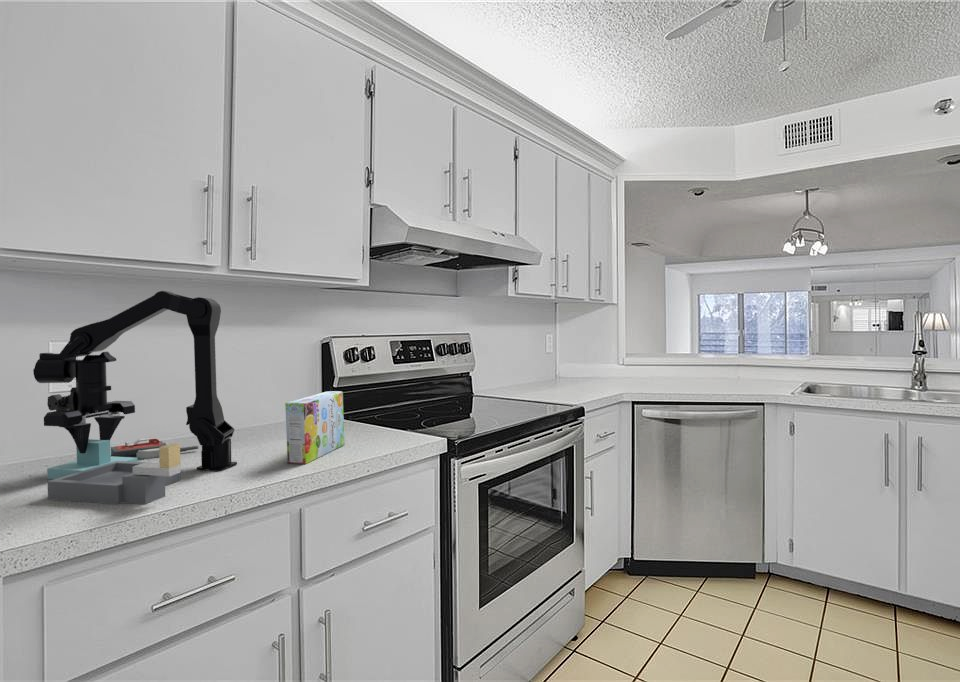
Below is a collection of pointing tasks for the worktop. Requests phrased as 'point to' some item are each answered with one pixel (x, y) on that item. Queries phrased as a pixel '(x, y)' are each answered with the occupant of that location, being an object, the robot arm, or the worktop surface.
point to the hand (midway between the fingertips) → (93, 450)
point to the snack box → (314, 426)
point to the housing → (110, 485)
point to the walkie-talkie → (142, 449)
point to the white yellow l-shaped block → (162, 463)
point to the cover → (87, 459)
